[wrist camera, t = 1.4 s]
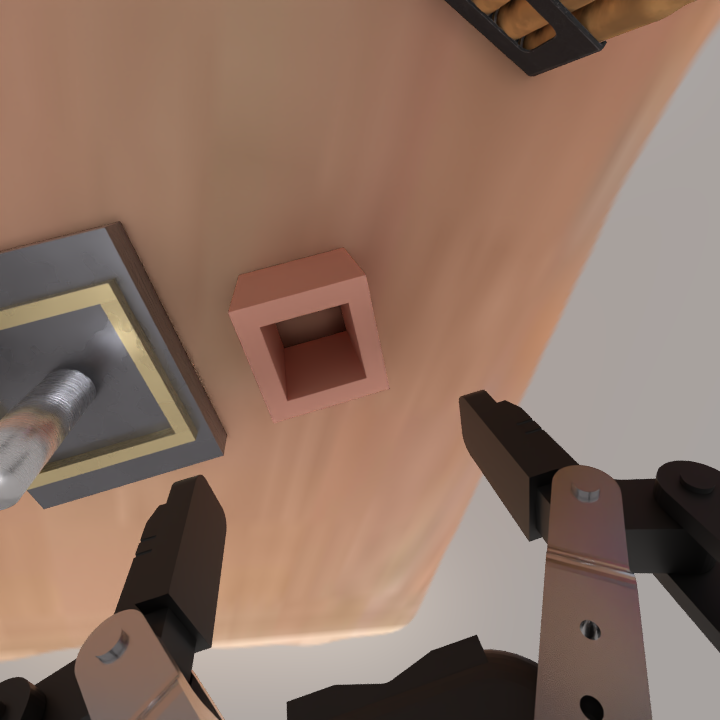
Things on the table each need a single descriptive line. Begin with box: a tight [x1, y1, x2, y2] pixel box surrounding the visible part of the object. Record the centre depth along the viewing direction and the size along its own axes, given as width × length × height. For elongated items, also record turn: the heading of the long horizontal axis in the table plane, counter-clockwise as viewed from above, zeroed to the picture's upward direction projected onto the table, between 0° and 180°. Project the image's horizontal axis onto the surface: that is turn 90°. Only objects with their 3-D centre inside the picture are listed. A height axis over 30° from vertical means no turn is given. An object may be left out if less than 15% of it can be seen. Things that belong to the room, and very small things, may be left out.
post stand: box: [0, 222, 227, 510], centre depth 18 cm, size 14×11×9 cm
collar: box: [228, 247, 390, 423], centre depth 20 cm, size 6×6×6 cm
